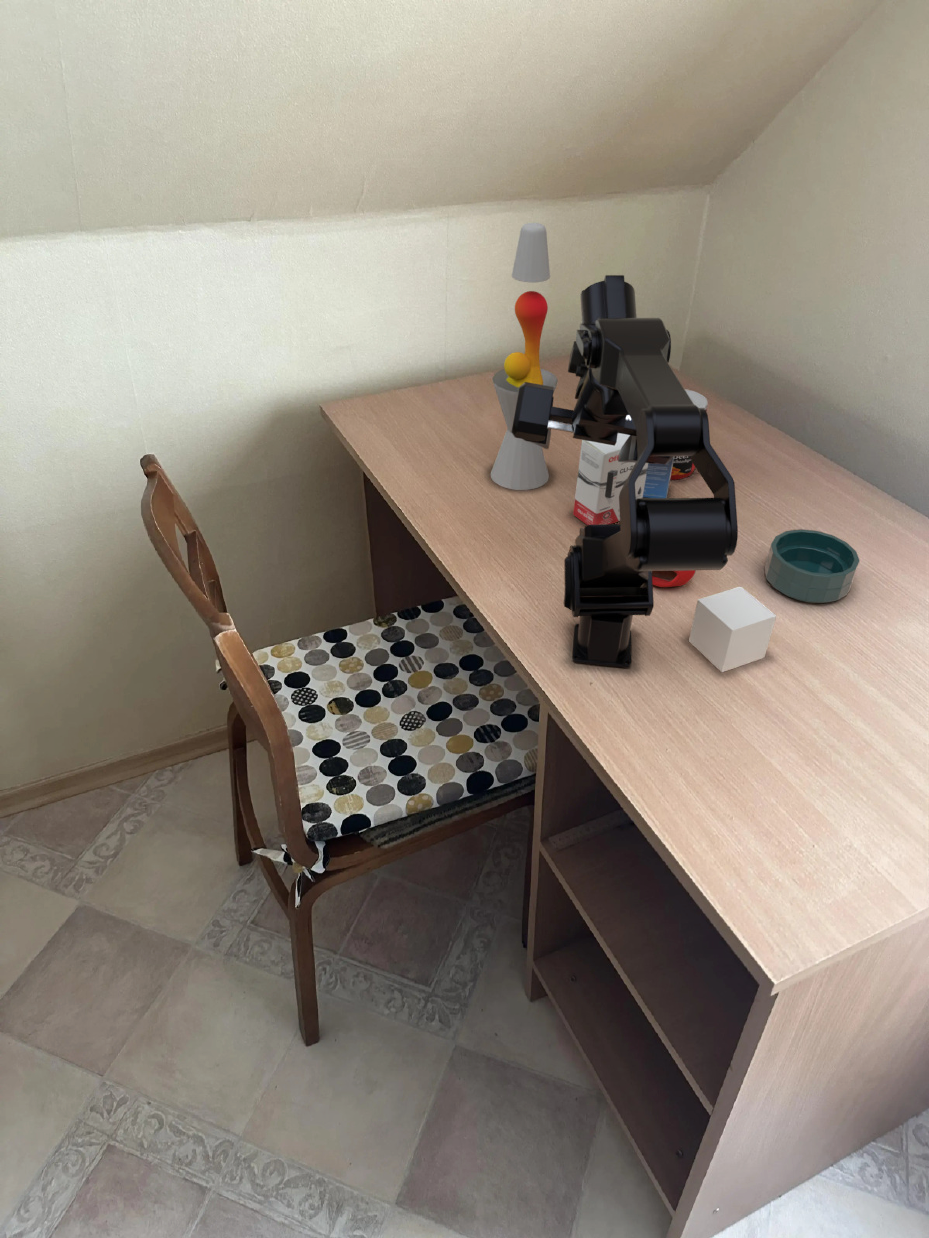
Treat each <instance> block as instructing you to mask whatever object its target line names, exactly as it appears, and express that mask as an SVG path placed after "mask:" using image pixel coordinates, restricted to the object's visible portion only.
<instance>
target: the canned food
mask: <svg viewBox="0 0 929 1238" xmlns="http://www.w3.org/2000/svg"><path fill="white" fill-rule="evenodd" d="M684 389H685V391H686V392H687V394H688V396H689V397H690V399H691V400H692V402H693V404H694V405H696V406H697V407H698V408H704V409H705V410H706V412H707V410H708V404H709V401H708V399H707V397H705V396H704V395H703V394H701V393H699V392H697V391H694V390H691V389H687V388H684ZM695 469H696V467H695V466H694V464H693V463H692V460H691V456H674V460H673V466H672V471H671V477H670V481H671V480H672V481H675V480H682V479H685V478H688V477H689V476H691V475H692V474H693V472H694V471H695Z"/></svg>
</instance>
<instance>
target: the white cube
mask: <svg viewBox="0 0 929 1238" xmlns="http://www.w3.org/2000/svg"><path fill="white" fill-rule="evenodd" d="M776 620H777V615H776V614H775V613H774V612H772V611H771V610H770V609H769V608H768V607H766V606H765V605H764V604H763V603H762V602H761V601H759V600H758V599H757V598H756V597H754V596H753V595H752V594H751V593H750V592H749V591H748V590H746V589H745V588H744V587H742V586H737V587H733V588H731V589H727V590H724V591H720V592H718V593H715V594H711V595H708V596H705V597H701V598H698V599H697V602H696V606H695V610H694V614H693V620H692V624H691V629H690V633H689V639H688V642H689V643H690V645H692V646H693V647H694V648H695V649H696V650H697V651H698V652H700V654H702V655H703V656H704V657H705V658H706V659H707V660H708V661H709V662H710V663H711V664H712V665H713V666H714V667H715V668H717V669H718V671H720V673H725V672H728V671H730V670H734V669H736V668H739V667H742V666H745V665H748V664H751V663H753V662H756V661H760V660H763V659H765V656H766V655H767V650H768V647H769V644H770V639H771V636H772V633H773V630H774V626H775V622H776Z"/></svg>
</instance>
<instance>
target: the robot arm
mask: <svg viewBox="0 0 929 1238" xmlns="http://www.w3.org/2000/svg"><path fill="white" fill-rule="evenodd" d="M636 303H637V301H636V290H635V288H634V287H633V285H632V284H630V283H629V282H627V281H625V275H624V274H605V276H604V279H603V280H600V281H598V282H594V283H592V284H591V285H589V286H587V287H585V289H583V290H581V291H580V312H581V313H580V314H581V323H579V329H576V333H575V334H576V335H575V340H574V341H573V343H572V346H571V350H570V354H569V359H568V367H567V373H569V374H575V377H577V378H579V380H578V383H577V385H576V389H575V395H574V399H575V400H576V403H575V406H574V408H573V409H568V408H563V407H556V406H554V393H555V391H554V387H551V386H545V385H540V384H534V383H529V382H525V383H523V384H522V385H521V386H520V387H519V392H518V397H517V403H516V409H515V414H514V420H513V426H512V431H511V433H512V434H513V435H514V437H515V438H520V439H523V440H524V441H528V442H531V443H534V444H537V445H539V446H541V447H542V449H546V450H548V449H549V448H550V442H551V436H552V430H554V431H561V432H565V433H570V434H572V439H576V440H581V441H582V440H586V441H592V442H597V443H603V444H608V445H614V446H615V444H616V442H617V435H618V433H621V434H627V435H630V436H629V437H628V439H627V440H626V442H625V443H624V445H623V446H622V448H621V450H620V452H619V456H618V462H635V465H634V467H633V469H632V471H631V473H630V474H629V476H628V478H627V480H626V482H625V484H624V486H623V487H622V489H621V491H620V494H619V508H620V521H619V523H612V524H602V525H585V526H584V527H583V528H579V535H577V537H576V539H575V540H574V545H569V550H568V552H567V554H566V555H567V556H566V557H565V558H564V561H563V562H564V563H563V565H564V567H563V570H564V575H563V576H564V595H563V607H564V608H566V609H567V610H569V611H571V615H572V618H579V621H578V623H575V624H574V629H573V641H572V642H573V643H572V654H571V655H572V656H571V661H572V662H573V663H576V664H586V665H595V666H603V667H605V666H606V667H613V668H623V669H629V668H631V667H632V623H633V617H634V616H645V617H650V616H651V614H652V612H653V610H654V603H655V602H654V587H653V586H654V585H653V583H652V576H653V572H674V571H691V570H696V571H721V570H722V569H724V567H726V565H727V564H728V563H729V559H728V557H730V556H733V554H734V553H735V552H736V548H737V545H738V538H739V535H738V534H739V533H738V531H739V527H738V512H737V500H736V499H737V498H736V485H735V484H736V483H735V480H734V477H733V476H732V475H731V473H730V472H729V470H728V468H727V466H725V464H724V462H723V461H722V459H721V457H719V454H718V453H717V452H716V451H715V449H714V446H713V445H712V444H711V438H710V436H711V435H710V422H709V416H708V415H709V414H708V412H707V411H706V410H705V409H704V408H698V407H697V406H696V405H694V404H693V402H692V400H691V399H690V397H689V396H688V394H687V392H686V391H685V389H686V388H684V386H683V384H682V383H681V381H680V379H679V378H678V376H677V374H676V373H675V372H674V370H673V369H672V366H671V365H670V364H669V363H670V359H671V351H672V339H671V332H670V331H669V329H667V328H666V326H665V323H664V321H663V320H662V319H661V318H660V317H638V315H637V304H636ZM553 392H554V393H553ZM674 456H691V460H692V463H693V464H694V466H695V469H696V470H697V472H698V473H699V475H700V476H701V478H702V480H703V481H704V483H705V484H706V486H707V487H708V489H709V490H710V492H711V493H712V495H713V497H667V498H645V497H643V498H637V499H636V494H635V482H636V480H637V478H638V476H639V474H640V473H641V471H642V469H643V467H644V465H645V463H650V464H655V463H658V464H664V465H665V464H667V463H668V462H670V461H671V459H672V458H673V457H674Z"/></svg>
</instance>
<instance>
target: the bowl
mask: <svg viewBox="0 0 929 1238" xmlns="http://www.w3.org/2000/svg"><path fill="white" fill-rule="evenodd" d="M859 564H860V557H859V555H858V552H857V550H856V549H855V548H853V547H852V546H851V544H849V543H848V542H847V541H846V540H843V539H841V538H839V537H837V536H835V535H833V534H830V533H828V532H827V533H826V532H823V531H819V530H815V529H802V528H801V529H799V528H797V529H792V530H785V531H783V532H781V533H779V534H777V535H775V536H774V538H773V540H772V542H770V546H769V549H768V554H767V557H766V561H765V565H764V574H765V580H767V582H768V583H769V584H770V585H771V586H772V587H773V588H774V589H776V590H777V591H779V592H780V593H781V594H783V595H785V596H786V597H788V598H790V599H793V600H796V601H800V602H804V603H810V604H825V603H831V602H837V601H839V600H841V599H842V598H844V597H846V596H847V595H848V594H849V592H850V589H851V587H852V585H853V581H854V578H855V576H856V572H857V569H858V567H859Z"/></svg>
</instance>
